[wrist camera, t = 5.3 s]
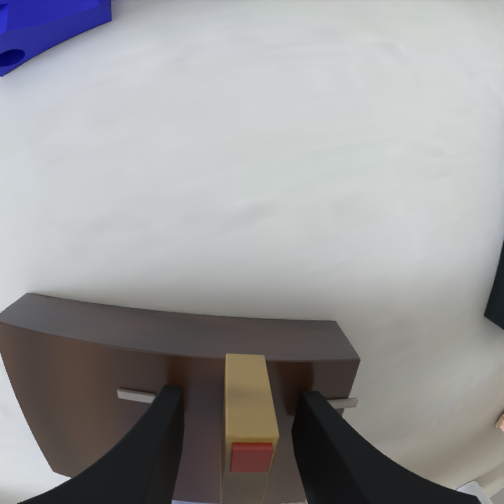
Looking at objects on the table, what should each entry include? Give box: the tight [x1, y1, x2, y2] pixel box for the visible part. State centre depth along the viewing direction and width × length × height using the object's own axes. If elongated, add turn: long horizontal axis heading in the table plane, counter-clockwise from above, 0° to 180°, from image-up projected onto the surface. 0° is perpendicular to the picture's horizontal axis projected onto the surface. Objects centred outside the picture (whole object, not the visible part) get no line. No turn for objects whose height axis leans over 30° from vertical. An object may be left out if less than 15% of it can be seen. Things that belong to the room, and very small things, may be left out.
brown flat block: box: [0, 293, 360, 504], centre depth 12 cm, size 14×10×3 cm
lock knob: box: [220, 354, 280, 504], centre depth 8 cm, size 4×1×4 cm, turn 175°
